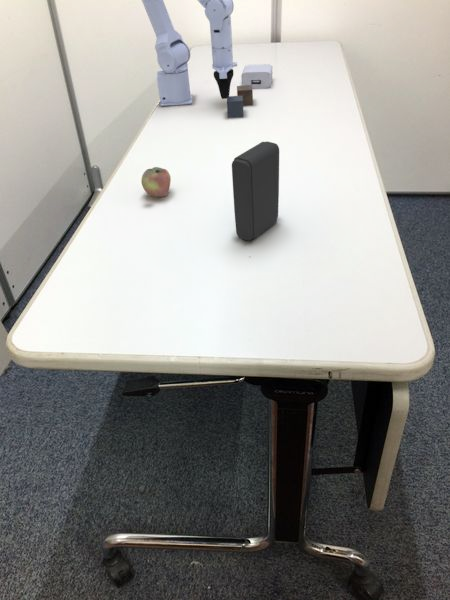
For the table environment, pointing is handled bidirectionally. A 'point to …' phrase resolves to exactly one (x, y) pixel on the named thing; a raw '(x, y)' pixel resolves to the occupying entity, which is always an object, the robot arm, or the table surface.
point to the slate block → (235, 106)
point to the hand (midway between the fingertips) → (225, 97)
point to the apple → (156, 182)
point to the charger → (257, 75)
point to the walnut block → (246, 94)
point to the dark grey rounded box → (256, 189)
